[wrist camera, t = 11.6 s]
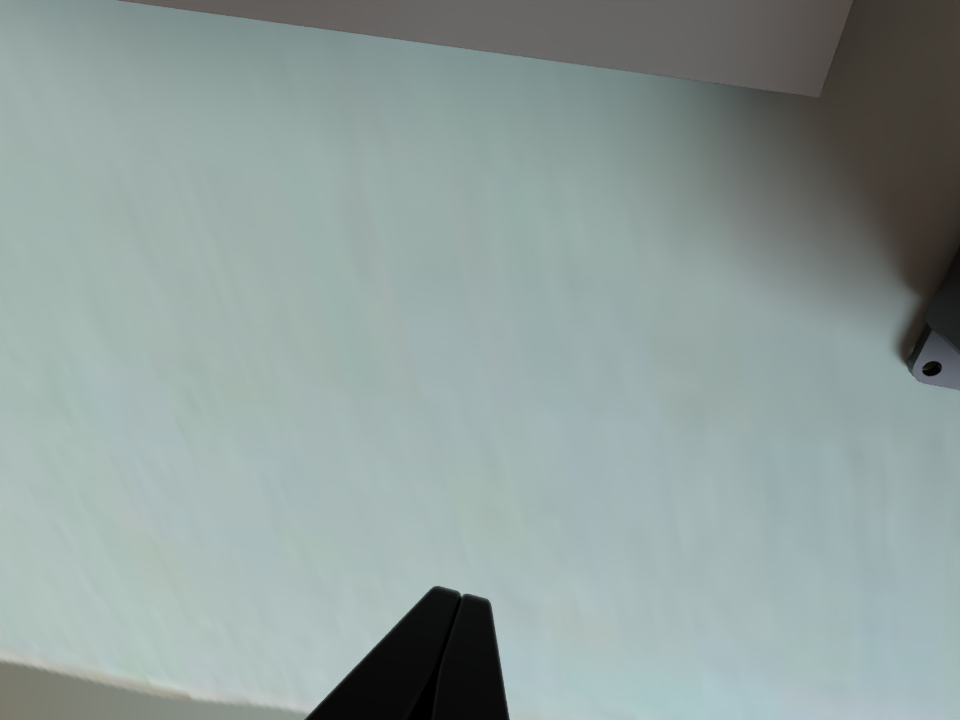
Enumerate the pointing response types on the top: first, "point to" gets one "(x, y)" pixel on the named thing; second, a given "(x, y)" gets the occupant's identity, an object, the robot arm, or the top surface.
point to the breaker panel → (596, 32)
